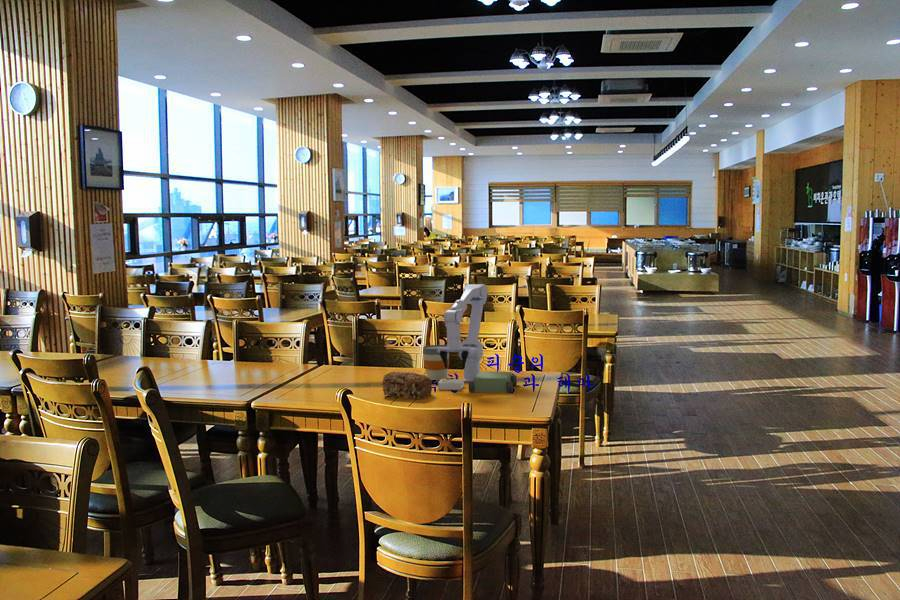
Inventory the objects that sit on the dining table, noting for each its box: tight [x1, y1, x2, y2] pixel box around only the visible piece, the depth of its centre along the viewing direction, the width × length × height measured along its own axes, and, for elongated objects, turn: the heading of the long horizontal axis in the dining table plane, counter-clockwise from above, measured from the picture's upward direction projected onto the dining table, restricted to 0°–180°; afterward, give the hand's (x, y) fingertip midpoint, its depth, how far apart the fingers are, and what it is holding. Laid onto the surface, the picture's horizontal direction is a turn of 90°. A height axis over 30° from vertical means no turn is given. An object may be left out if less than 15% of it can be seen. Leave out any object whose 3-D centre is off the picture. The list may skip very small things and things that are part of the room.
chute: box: [437, 379, 465, 391], centre depth 332 cm, size 7×10×3 cm
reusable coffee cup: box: [422, 344, 450, 381], centre depth 354 cm, size 13×13×15 cm
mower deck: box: [468, 371, 518, 393], centre depth 328 cm, size 18×18×6 cm
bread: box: [382, 371, 433, 400], centre depth 321 cm, size 19×11×10 cm, turn 60°
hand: (454, 368), depth 333 cm, fingers open, 7 cm apart
